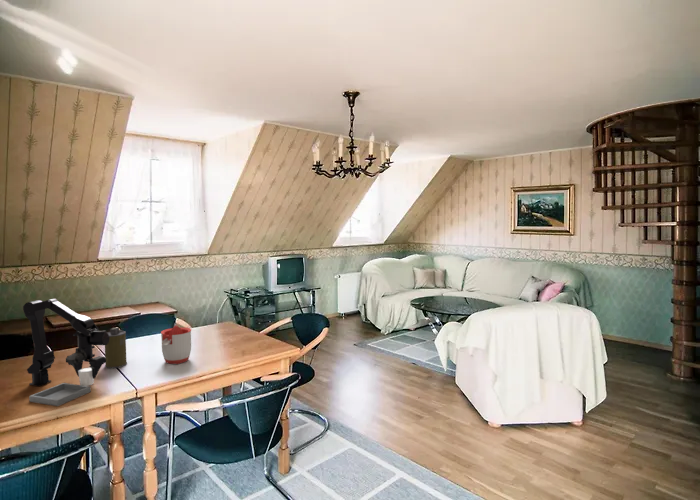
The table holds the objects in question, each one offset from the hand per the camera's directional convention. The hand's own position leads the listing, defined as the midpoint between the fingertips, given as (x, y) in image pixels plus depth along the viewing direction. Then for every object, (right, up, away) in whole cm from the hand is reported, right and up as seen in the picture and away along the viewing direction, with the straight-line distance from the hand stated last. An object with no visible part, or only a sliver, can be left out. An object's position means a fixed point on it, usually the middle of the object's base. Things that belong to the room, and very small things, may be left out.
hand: (86, 377), depth 208 cm
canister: (-1, -2, +28) cm, 28 cm away
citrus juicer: (+29, -1, +33) cm, 44 cm away
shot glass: (0, -4, 0) cm, 4 cm away
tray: (-3, -4, -15) cm, 15 cm away
